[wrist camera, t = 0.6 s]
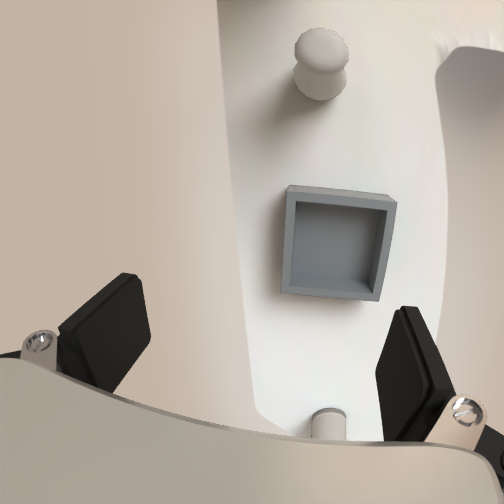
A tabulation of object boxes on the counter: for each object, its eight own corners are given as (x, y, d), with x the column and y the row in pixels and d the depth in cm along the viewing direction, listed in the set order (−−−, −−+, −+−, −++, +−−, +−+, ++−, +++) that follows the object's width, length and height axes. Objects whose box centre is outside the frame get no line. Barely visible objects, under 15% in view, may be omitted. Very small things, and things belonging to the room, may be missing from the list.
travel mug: (354, 415, 47) (355, 509, 29) (327, 430, 49) (321, 519, 31) (332, 401, 46) (327, 502, 28) (305, 417, 49) (293, 511, 31)
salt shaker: (338, 56, 28) (350, 14, 16) (348, 100, 30) (367, 78, 18) (290, 61, 30) (277, 22, 18) (299, 106, 32) (291, 86, 20)
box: (289, 185, 35) (286, 190, 31) (387, 194, 33) (397, 202, 29) (284, 276, 40) (280, 292, 35) (372, 284, 38) (378, 301, 33)
